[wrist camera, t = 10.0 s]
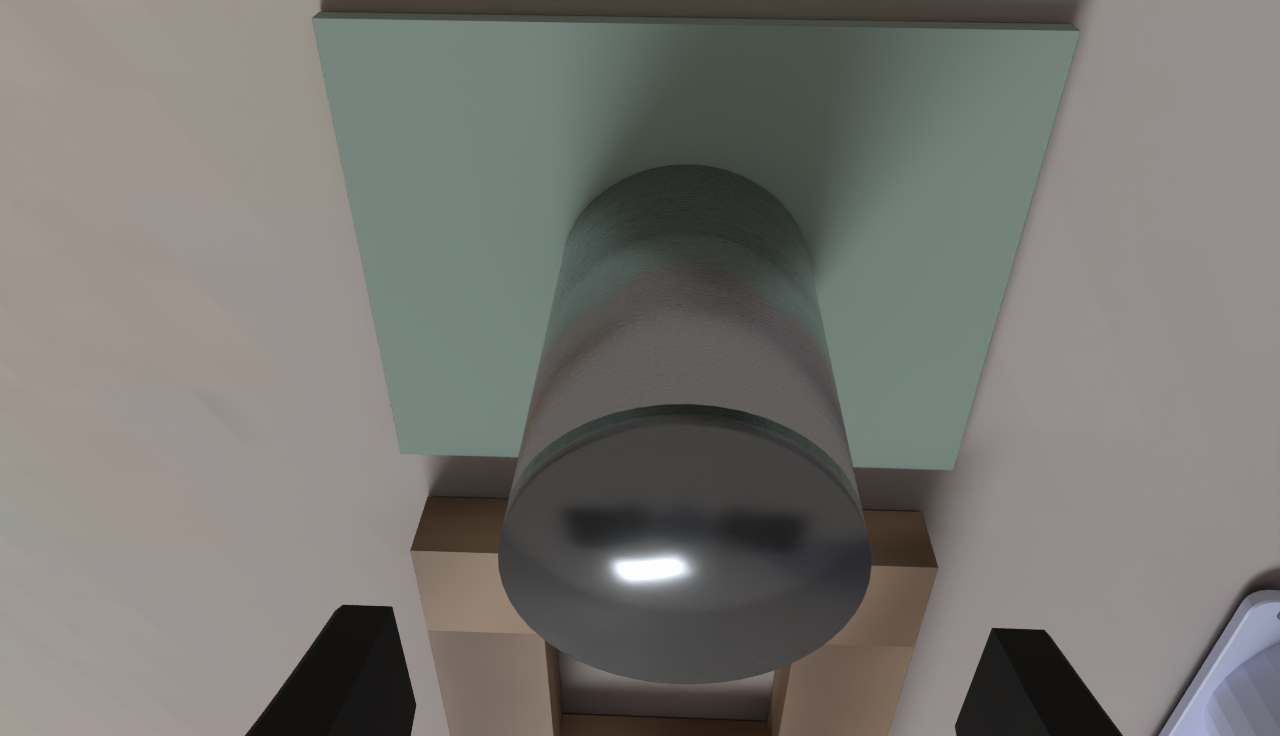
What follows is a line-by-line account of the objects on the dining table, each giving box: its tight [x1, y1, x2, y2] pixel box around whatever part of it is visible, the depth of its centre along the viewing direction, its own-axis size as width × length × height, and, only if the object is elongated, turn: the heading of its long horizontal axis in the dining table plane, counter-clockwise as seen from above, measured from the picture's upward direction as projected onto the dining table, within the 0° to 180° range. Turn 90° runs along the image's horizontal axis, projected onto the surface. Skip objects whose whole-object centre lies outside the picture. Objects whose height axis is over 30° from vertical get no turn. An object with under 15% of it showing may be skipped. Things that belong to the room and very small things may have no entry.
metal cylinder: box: [498, 165, 872, 684], centre depth 15 cm, size 5×5×8 cm
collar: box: [410, 497, 938, 736], centre depth 26 cm, size 12×12×2 cm
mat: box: [312, 12, 1080, 470], centre depth 18 cm, size 13×10×1 cm
